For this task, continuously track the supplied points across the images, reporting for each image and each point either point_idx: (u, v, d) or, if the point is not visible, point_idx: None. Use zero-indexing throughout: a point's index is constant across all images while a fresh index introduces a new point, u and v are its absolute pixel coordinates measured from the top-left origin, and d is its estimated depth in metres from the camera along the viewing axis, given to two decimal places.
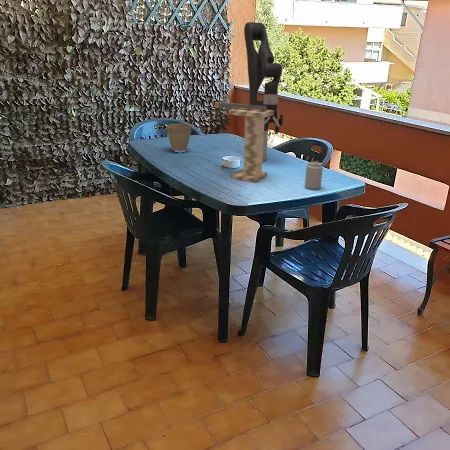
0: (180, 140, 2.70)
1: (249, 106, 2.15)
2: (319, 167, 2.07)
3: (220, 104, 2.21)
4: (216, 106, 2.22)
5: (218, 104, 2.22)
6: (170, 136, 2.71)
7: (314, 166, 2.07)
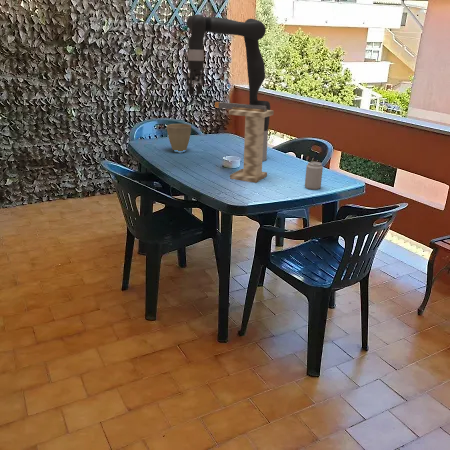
0: (180, 140, 2.70)
1: (249, 106, 2.15)
2: (319, 167, 2.07)
3: (220, 104, 2.21)
4: (216, 106, 2.22)
5: (218, 104, 2.22)
6: (170, 136, 2.71)
7: (314, 166, 2.07)
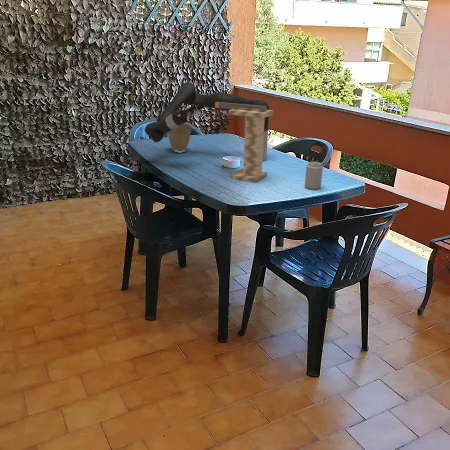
0: (180, 140, 2.70)
1: (249, 106, 2.15)
2: (319, 167, 2.07)
3: (220, 104, 2.21)
4: (216, 106, 2.22)
5: (218, 104, 2.22)
6: (170, 136, 2.71)
7: (314, 166, 2.07)
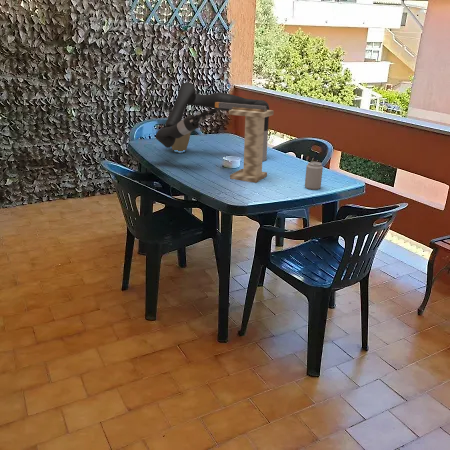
0: (180, 140, 2.70)
1: (249, 106, 2.15)
2: (319, 167, 2.07)
3: (220, 104, 2.21)
4: (216, 106, 2.22)
5: (218, 104, 2.22)
6: None
7: (314, 166, 2.07)
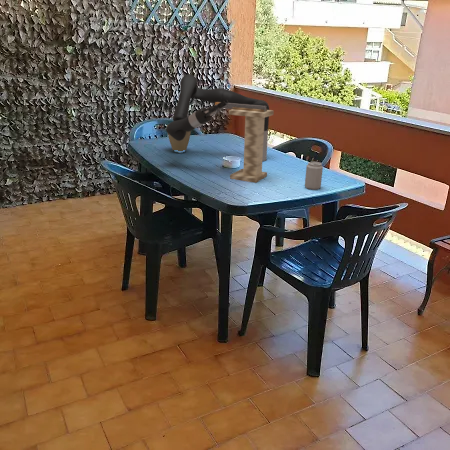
0: None
1: (249, 106, 2.15)
2: (319, 167, 2.07)
3: None
4: None
5: None
6: (170, 136, 2.71)
7: (314, 166, 2.07)
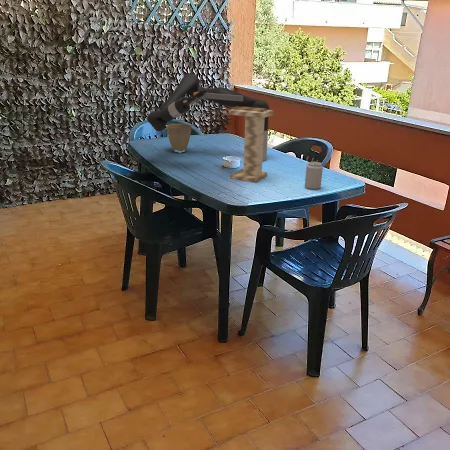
0: (180, 140, 2.70)
1: (226, 96, 2.18)
2: (319, 167, 2.07)
3: None
4: None
5: None
6: (170, 136, 2.71)
7: (314, 166, 2.07)
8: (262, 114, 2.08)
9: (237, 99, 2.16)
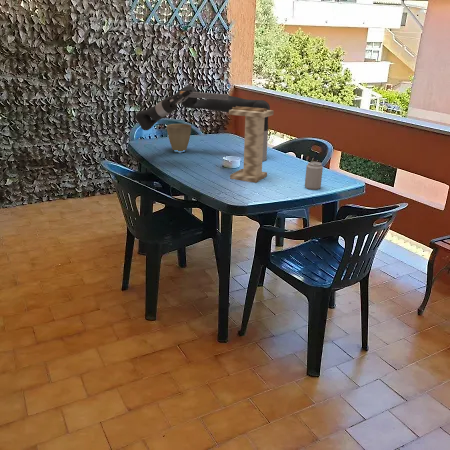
0: (180, 140, 2.70)
1: (212, 95, 2.22)
2: (319, 167, 2.07)
3: None
4: None
5: None
6: (170, 136, 2.71)
7: (314, 166, 2.07)
8: (262, 114, 2.08)
9: (222, 98, 2.20)
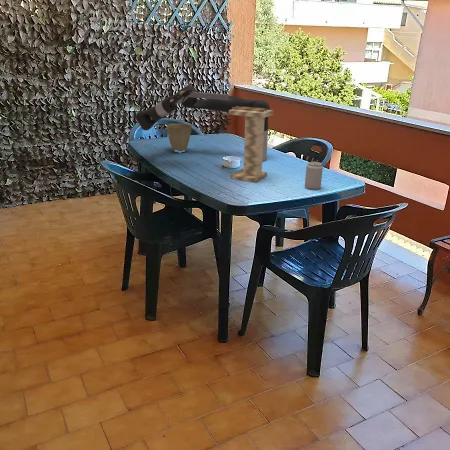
0: (180, 140, 2.70)
1: (212, 95, 2.22)
2: (319, 167, 2.07)
3: None
4: None
5: None
6: (170, 136, 2.71)
7: (314, 166, 2.07)
8: (262, 114, 2.08)
9: (222, 98, 2.20)
